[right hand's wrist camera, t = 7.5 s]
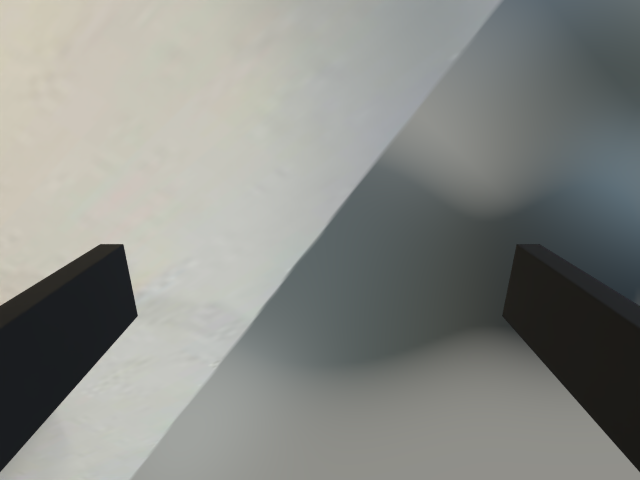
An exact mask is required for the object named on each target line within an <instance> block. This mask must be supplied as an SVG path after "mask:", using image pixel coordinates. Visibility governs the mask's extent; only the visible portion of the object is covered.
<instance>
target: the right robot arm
mask: <svg viewBox="0 0 640 480" xmlns="http://www.w3.org/2000/svg"><path fill="white" fill-rule="evenodd" d="M137 316H138V315H137V310H136V305H135V300H134V295H133V290H132V285H131V280H130V275H129V270H128V265H127V260H126V255H125V250H124V245H123V244H100V245H98V246H97V247H95V248H94V249H92V250H90V251H89V252H87V253H85V254H84V255H82V256H81V257H79V258H77V259H76V260H74V261H72V262H71V263H69V264H68V265H66V266H64V267H63V268H61V269H59V270H58V271H56V272H55V273H53V274H51V275H50V276H48V277H46V278H45V279H43V280H42V281H40V282H38V283H37V284H35V285H33V286H32V287H30V288H29V289H27V290H25V291H24V292H22V293H20V294H19V295H17V296H16V297H14V298H12V299H11V300H9V301H7V302H6V303H4V304H3V305H1V306H0V472H1V471H2V469H3V468H4V467H5V466H6V465H7V464H8V463H9V461H10V460H11V459H12V458H13V457H14V456H15V455H16V453H17V452H18V451H19V450H20V449H21V448H22V447H23V446H24V444H25V443H26V442H27V441H28V440H29V439H30V438H31V436H32V435H33V434H34V433H35V432H36V431H37V430H38V429H39V427H40V426H41V425H42V424H43V423H44V422H45V421H46V419H47V418H48V417H49V416H50V415H51V414H52V413H53V411H54V410H55V409H56V408H57V407H58V406H59V405H60V404H61V402H62V401H63V400H64V399H65V398H66V397H67V396H68V394H69V393H70V392H71V391H72V390H73V389H74V388H75V387H76V385H77V384H78V383H79V382H80V381H81V380H82V379H83V377H84V376H85V375H86V374H87V373H88V372H89V371H90V370H91V368H92V367H93V366H94V365H95V364H96V363H97V362H98V360H99V359H100V358H101V357H102V356H103V355H104V354H105V352H106V351H107V350H108V349H109V348H110V347H111V346H112V345H113V343H114V342H115V341H116V340H117V339H118V338H119V337H120V335H121V334H122V333H123V332H124V331H125V330H126V329H127V328H128V326H129V325H130V324H131V323H132V322H133V321H134V320H135V318H136V317H137ZM502 316H503V317H504V318H505V319H506V321H507V322H508V323H509V324H510V325H511V326H512V328H513V329H514V330H515V331H516V332H517V333H518V334H519V335H520V337H521V338H522V339H523V340H524V341H525V342H526V343H527V345H528V346H529V347H530V348H531V349H532V350H533V351H534V352H535V354H536V355H537V356H538V357H539V358H540V359H541V360H542V362H543V363H544V364H545V365H546V366H547V367H548V368H549V370H550V371H551V372H552V373H553V374H554V375H555V376H556V377H557V379H558V380H559V381H560V382H561V383H562V384H563V385H564V387H565V388H566V389H567V390H568V391H569V392H570V393H571V394H572V396H573V397H574V398H575V399H576V400H577V401H578V402H579V404H580V405H581V406H582V407H583V408H584V409H585V410H586V411H587V413H588V414H589V415H590V416H591V417H592V418H593V419H594V421H595V422H596V423H597V424H598V425H599V426H600V427H601V428H602V430H603V431H604V432H605V433H606V434H607V435H608V436H609V438H610V439H611V440H612V441H613V442H614V443H615V444H616V446H617V447H618V448H619V449H620V450H621V451H622V452H623V453H624V455H625V456H626V457H627V458H628V459H629V460H630V461H631V463H632V464H633V465H634V466H635V467H636V468H637V469H638V471H639V472H640V306H639V305H637V304H636V303H634V302H633V301H631V300H629V299H628V298H626V297H624V296H623V295H621V294H620V293H618V292H616V291H615V290H613V289H611V288H610V287H608V286H607V285H605V284H603V283H602V282H600V281H598V280H597V279H595V278H594V277H592V276H590V275H589V274H587V273H585V272H584V271H582V270H581V269H579V268H577V267H576V266H574V265H572V264H571V263H569V262H568V261H566V260H564V259H563V258H561V257H559V256H558V255H556V254H555V253H553V252H551V251H550V250H548V249H546V248H545V247H543V246H542V245H540V244H517V245H516V250H515V255H514V260H513V265H512V270H511V275H510V280H509V285H508V290H507V295H506V300H505V305H504V310H503V315H502Z"/></svg>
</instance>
